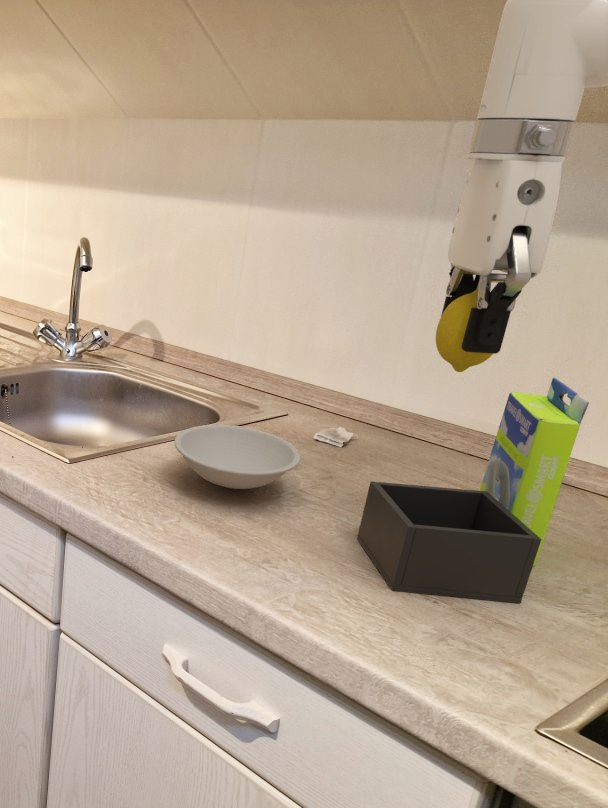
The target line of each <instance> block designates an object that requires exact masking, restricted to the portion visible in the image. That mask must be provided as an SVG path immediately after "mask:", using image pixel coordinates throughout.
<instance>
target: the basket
mask: <svg viewBox="0 0 608 808" xmlns="http://www.w3.org/2000/svg"><path fill="white" fill-rule="evenodd" d="M367 490H368V491H367V494H366V499H365V503H364V507H363V510H362V516H361V519H360V524H359V528H358V533H357V536H356V539H357V542H359V544H360V545H361V547H362V548H363V550H364V552H365V553H366V554H367V556H368V557H369V559H370V560H371V562H372V563H373V565H374V566H375V568H376V569H377V571H378V572H379V574H380V575H381V576H382V578H383V579H384V581H385V582H386V584H387V585H388V587H389V589H390V590H391V591H394V592H404V593H414V594H422V595H423V594H424V595H433V596H443V597H444V596H445V597H454V598H461V599H462V598H464V599H473V600H483V601H493V602H502V603H512V604H513V603H514V604H521V603H522V600H523V597H524V594H525V592H526V588H527V585H528V582H529V578H530V575H531V573H532V569H533V566H534V565H533V564H534V561H535V558H536V555H537V551H538V548H539V545H540V542H541V538H540V537H538V536H537V535H536V534H535V533H534V532H533V531H532V530H530V529H529V528H528V527H527V526H526V525H525V524H524V523H522V522H521V521H520V520H519V519H518V518H517V517H516V516H514V515H513V514H512V513H511V512H510V511H509V510H508V509H506V508H505V507H504V506H503V505H502V504H501V503H500V502H498V501H497V500H496V499H495V498H494V497H493V496H492V495H490V494H489V493H488V492H487V491H480V490H475V489H474V490H473V489H463V488H452V487H439V486H429V485H419V484H406V483H395V482H384V481H370V482H369V487H368V489H367Z"/></svg>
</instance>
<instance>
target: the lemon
mask: <svg viewBox="0 0 608 808" xmlns="http://www.w3.org/2000/svg"><path fill="white" fill-rule="evenodd" d="M478 291H479V290H475V291H474V292H473V293H470V294H466V295H463V296H461V297H459V298H457V299H455V300H454V301H453V302H451V303H450V304H449V305H448V307H447V308H446V309H445V311H444V312H443V314H442V313H441V315H442V316H441V315H440V318H439V320H438V322H437V327H436V330H435V345H436V348H437V352H438V354H439V355H440V357H441V358H442V360H444V361H445V362H447V363H448V364H450V365H451V367H452V368H453V370H454V371H455V372H457V373H463V372H465V371H466V370H467V369H469V368H471V367H475V366H478V365H480V364H483V363H484V362H486V361H487V360H489V359H490V358H491V357H492V356H493V355H494V354H492V353H477V352H466V351H464V350H462V343H463V339H464V335H465V331H466V327H467V323H468V319H469V316H470V312H471V308H477V300H478Z"/></svg>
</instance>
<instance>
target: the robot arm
mask: <svg viewBox="0 0 608 808" xmlns="http://www.w3.org/2000/svg"><path fill="white" fill-rule="evenodd" d="M503 6H504V7H503V10H502V13H501V15H500V16H501V17H500V20H499V24H498V29H497V33H496V37H495V41H494V46H493V50H492V54H491V58H490V63H489V66H488V71H487V75H486V80H485V83H484V87H483V92H482V96H481V100H480V105H479V108H478V112H477V115H476V116H477V117H476V121H475V124H474V129H473V133H472V137H471V140H470V145H469V150H468V153H467V158H466V159H467V160H473V162H472V166H471V168H470V171H469V174H468V176H467V180H466V183H465V186H464V189H463V192H462V194H461V199H460V202H459V205H458V209H457V212H456V216H455V220H454V223H453V226H452V231H451V236H450V240H449V245H448V249H447V250H448V252H447V259H448V262H449V263H450V271H449V272H448V275H449V278H450V279H449V281H448V283H447V285H446V289H445V295H446V296H445V299H444V304H443V307H442V311H441V315H440V317H441V316H442V314H443V312H444V311H445V309H446V308H447V307H448V305H449V304H450V303H451V302H453V301H454V300H455V299H457V298H459V297H461V296H463V295H466V294H470V293H473V292H474V291H475V290H479V291H478V300H477V308H471V312H470V316H469V319H468V323H467V327H466V331H465V335H464V339H463V343H462V350H464V351H466V352H477V353H492V354H493V355H495V354H499V353H500V352H501V349H502V345H503V341H504V338H505V335H506V331H507V327H508V324H509V320H510V317H511V312H513V310H514V309H515V307H516V306H515V305H516V300H517V298H518V297H519V296H520V294H521V293H522V290H523V289H524V287H525V286H526V285H527V284H528V283H529V282H530V281H531V280H532V279H534V278H535V277H537V276H539V275H540V274H541V272H542V270H543V266H544V262H545V259H546V255H547V250H548V247H549V243H550V238H551V235H552V229H553V226H554V221H555V217H556V211H557V206H558V202H559V201H558V200H559V195H560V189H561V180H562V169H563V163H565V161H566V156H567V154H568V150H569V148H570V147H569V146H570V144H571V139H572V135H573V133H574V129H575V126H576V125H575V124H576V121H577V117H578V114H579V110H580V106H581V104H582V100H583V97H584V93H585V89H594V88H595V89H596V88H604V87H608V0H506V1H505V4H504V5H503ZM493 271H500V272H503V273H497V272H493ZM474 276H475V277H474ZM493 283H494V284H495V285H494V287H493V288H492V284H493ZM491 288H492V289H491Z"/></svg>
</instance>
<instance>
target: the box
mask: <svg viewBox="0 0 608 808" xmlns="http://www.w3.org/2000/svg"><path fill="white" fill-rule="evenodd" d="M565 395H566V397H567V398H568V399H569V400H570V403H569V405H568V403H567V402H565V401H564V397H565ZM589 404H590V401H588V399H585V398H584V397H583V396H582V395H580V394H579V393H578V392H576V391H575V390H573V389H572V388H570V386H568V385H567V384H565V383H563V382H562V381H560V380H559V379H557V377H552V379H551V382H550V385H549V389H548V391H547V396H546V395H541V394H532V393H526V392H518V391H511V392H509V393H508V397H507V400H506V404H505V407H504V410H503V413H502V416H501V419H500V420H501V421H500V423H499V426H498V429H497V432H496V436H495V438H494V442H493V446H492V449H491V451H490V455H489V459H488V461H487V466H486V468H485V472H484V475H483V478H482V481H481V484H480V488H479V491H487V492H488V493H489V494H490V495H492V496H493V497H494V498H495V499H496V500H497V501H498V502H500V503H501V504H502V505H503V506H504V507H505V508H506V509H508V510H509V511H510V512H511V513H512V514H513V515H514V516H516V517H517V518H518V519H519V520H520V521H521V522H522V523H524V524H525V525H526V526H527V527H528V528H529V529H530V530H532V531H533V532H534V533H535V534H536V535H537V536H538V537H540V538H541V542H540V545H539V548H538V551H537V555H536V558H535V561H534V564H533V566H536V565H537V564H538V559H539V556H540V552H541V549H542V546H543V543H544V540H545V537H546V534H547V531H548V528H549V525H550V522H551V518H552V515H553V512H554V509H555V507H556V502H557V499H558V496H559V493H560V490H561V486H562V484H563V481H564V477H565V474H566V471H567V468H568V465H569V461H570V458H571V455H572V452H573V448H574V445H575V444H576V443H575V442H576V440H577V436H578V433H579V430H580V427H581V424H582V421H583V419H584V417H585V414H586V411H587V409H588V407H589Z"/></svg>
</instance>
